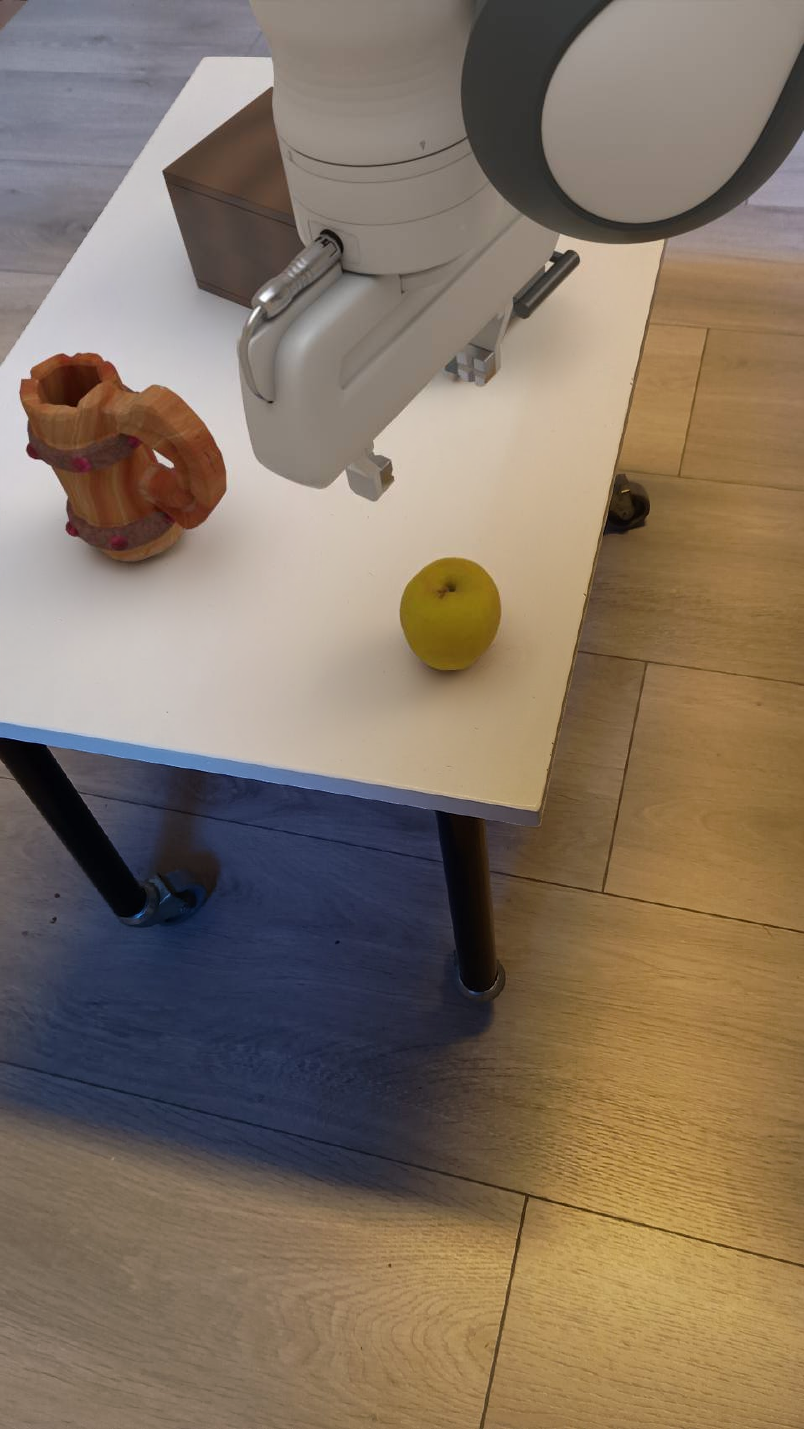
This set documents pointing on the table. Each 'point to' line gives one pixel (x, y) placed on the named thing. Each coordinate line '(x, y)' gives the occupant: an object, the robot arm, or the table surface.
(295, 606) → the table surface
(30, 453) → the mug
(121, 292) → the table surface
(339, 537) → the table surface
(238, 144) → the cabinet
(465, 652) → the apple
